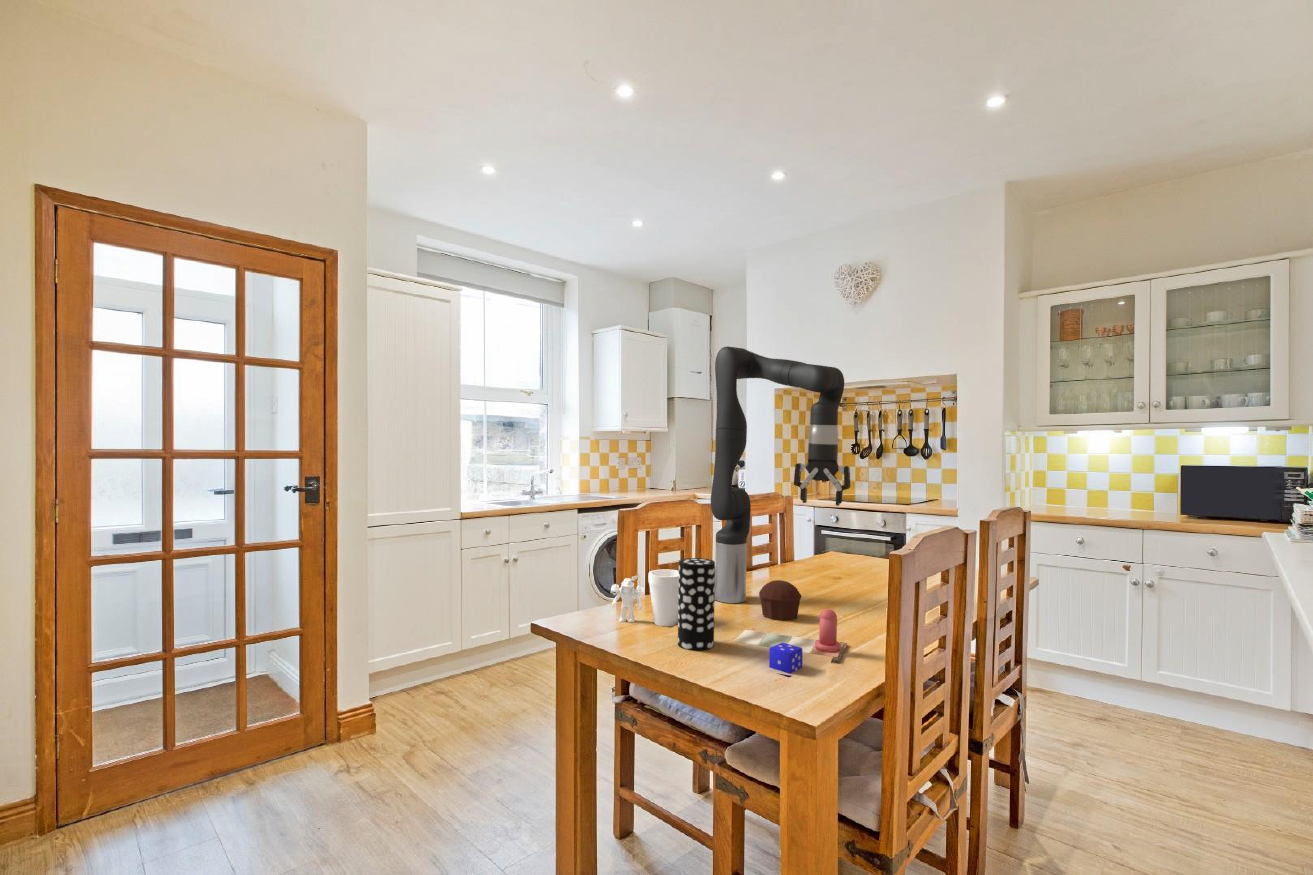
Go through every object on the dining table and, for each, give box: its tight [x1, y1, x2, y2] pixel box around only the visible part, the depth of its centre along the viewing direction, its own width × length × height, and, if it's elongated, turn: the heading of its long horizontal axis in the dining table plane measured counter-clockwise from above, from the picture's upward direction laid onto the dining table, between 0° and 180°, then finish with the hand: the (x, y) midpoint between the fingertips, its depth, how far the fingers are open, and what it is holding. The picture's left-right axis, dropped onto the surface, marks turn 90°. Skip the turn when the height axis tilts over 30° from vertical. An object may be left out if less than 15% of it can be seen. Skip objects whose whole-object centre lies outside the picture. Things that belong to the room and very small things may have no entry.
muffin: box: [758, 579, 802, 622], centre depth 170 cm, size 12×11×10 cm
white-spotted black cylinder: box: [677, 557, 715, 652], centre depth 146 cm, size 8×8×20 cm
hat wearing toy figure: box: [610, 574, 645, 623], centre depth 167 cm, size 9×4×12 cm, turn 80°
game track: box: [732, 629, 848, 664], centre depth 148 cm, size 25×13×1 cm, turn 66°
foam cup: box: [647, 568, 679, 627], centre depth 165 cm, size 10×9×13 cm
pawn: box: [814, 608, 841, 653], centre depth 144 cm, size 6×6×9 cm
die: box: [768, 643, 803, 678], centre depth 132 cm, size 5×5×5 cm
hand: (821, 503), depth 166 cm, fingers open, 8 cm apart
